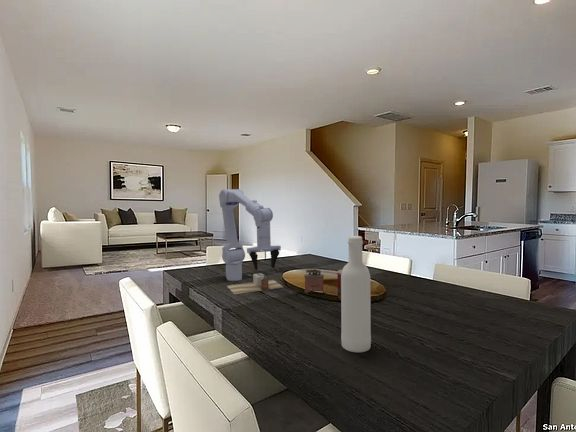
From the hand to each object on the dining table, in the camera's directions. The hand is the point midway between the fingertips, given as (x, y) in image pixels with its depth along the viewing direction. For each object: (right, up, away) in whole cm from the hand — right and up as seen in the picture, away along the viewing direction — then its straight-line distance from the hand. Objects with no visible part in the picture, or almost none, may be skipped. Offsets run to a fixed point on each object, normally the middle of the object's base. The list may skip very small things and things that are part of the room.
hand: (264, 268), depth 142 cm
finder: (-3, -8, +7) cm, 11 cm away
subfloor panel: (-5, -10, +4) cm, 11 cm away
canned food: (+33, -10, -11) cm, 37 cm away
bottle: (+29, -13, -51) cm, 60 cm away
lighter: (+21, -10, -3) cm, 23 cm away
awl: (0, -9, +1) cm, 9 cm away
